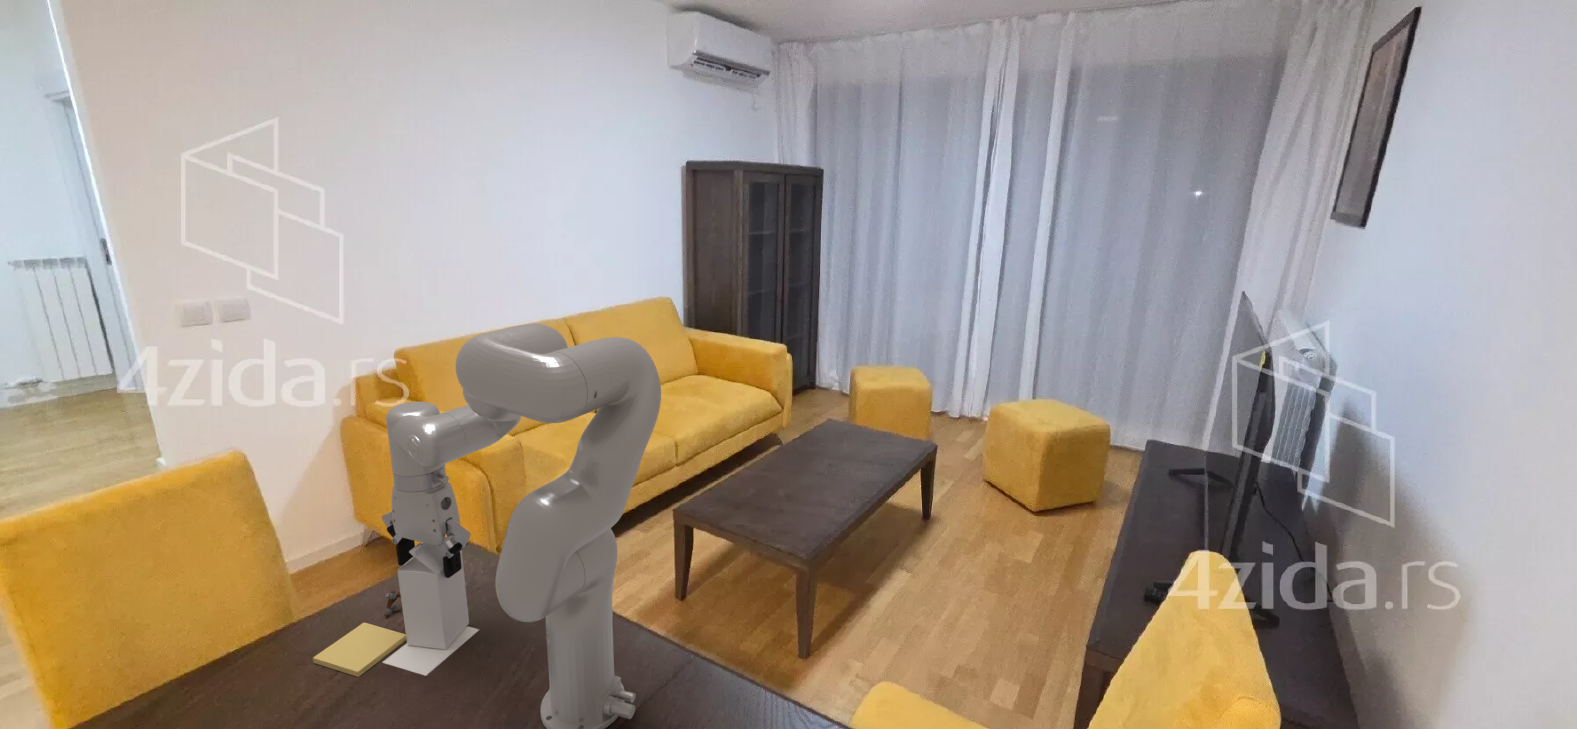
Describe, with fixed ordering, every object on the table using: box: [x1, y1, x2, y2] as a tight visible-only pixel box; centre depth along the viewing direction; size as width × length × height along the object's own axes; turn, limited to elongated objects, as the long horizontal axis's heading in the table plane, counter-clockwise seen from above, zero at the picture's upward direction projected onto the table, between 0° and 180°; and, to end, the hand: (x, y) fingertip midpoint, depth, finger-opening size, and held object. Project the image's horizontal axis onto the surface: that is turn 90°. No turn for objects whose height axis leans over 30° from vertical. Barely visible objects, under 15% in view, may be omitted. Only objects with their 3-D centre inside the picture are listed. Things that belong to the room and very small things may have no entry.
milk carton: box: [397, 538, 470, 649], centre depth 113 cm, size 7×7×19 cm
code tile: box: [382, 625, 480, 677], centre depth 113 cm, size 9×12×1 cm
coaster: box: [312, 622, 407, 678], centre depth 111 cm, size 10×10×1 cm
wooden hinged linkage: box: [383, 589, 403, 617], centre depth 122 cm, size 2×8×4 cm, turn 161°
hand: (430, 567), depth 112 cm, fingers open, 9 cm apart
